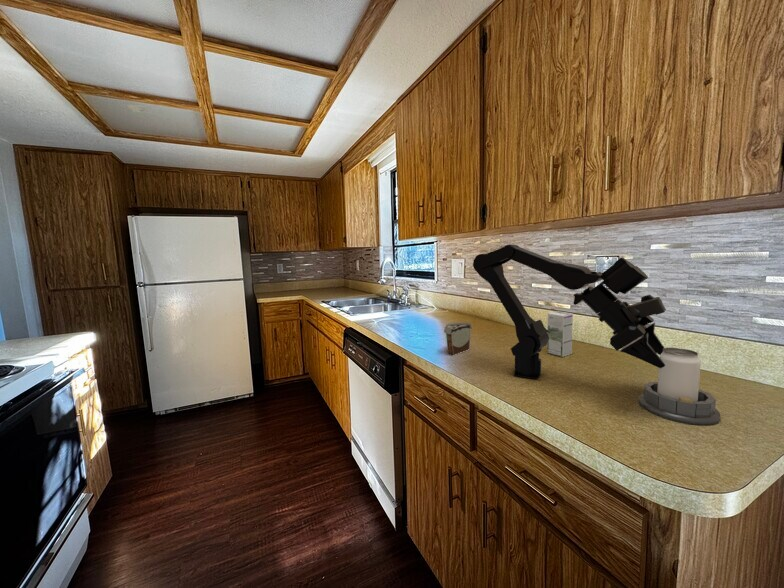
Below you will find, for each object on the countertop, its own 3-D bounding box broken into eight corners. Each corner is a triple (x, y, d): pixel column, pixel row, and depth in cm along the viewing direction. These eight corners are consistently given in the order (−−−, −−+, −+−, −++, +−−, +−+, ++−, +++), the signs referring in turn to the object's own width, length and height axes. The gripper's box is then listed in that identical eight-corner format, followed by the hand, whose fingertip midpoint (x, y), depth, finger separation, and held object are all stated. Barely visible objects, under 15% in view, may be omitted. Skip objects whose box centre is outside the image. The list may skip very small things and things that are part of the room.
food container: (458, 346, 121) (458, 320, 120) (471, 349, 117) (471, 323, 116) (437, 352, 114) (436, 326, 113) (450, 356, 109) (450, 328, 108)
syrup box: (572, 354, 106) (573, 312, 105) (562, 357, 103) (563, 314, 102) (556, 350, 111) (557, 310, 110) (546, 353, 108) (547, 312, 107)
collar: (645, 416, 65) (646, 395, 65) (633, 392, 76) (634, 374, 76) (732, 431, 59) (734, 408, 58) (705, 402, 70) (707, 383, 70)
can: (649, 398, 71) (652, 347, 70) (680, 398, 70) (684, 346, 69) (671, 411, 65) (675, 356, 63) (705, 412, 64) (710, 356, 63)
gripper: (632, 288, 63) (704, 351, 57) (644, 281, 76) (704, 331, 70) (586, 321, 70) (645, 381, 63) (605, 309, 83) (656, 358, 76)
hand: (665, 361), depth 68 cm, fingers open, 9 cm apart
